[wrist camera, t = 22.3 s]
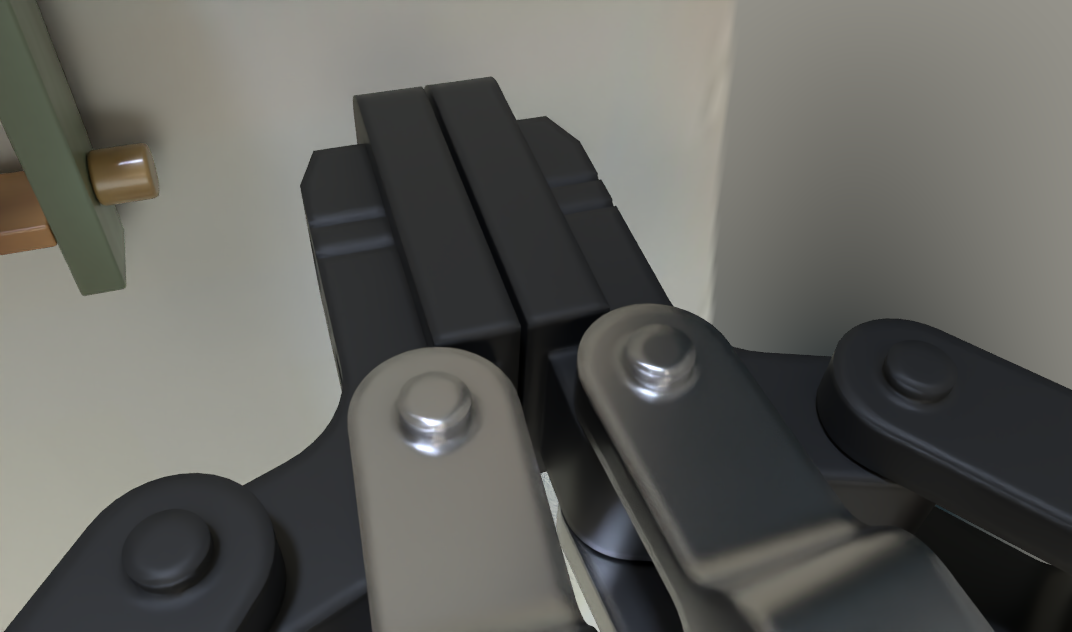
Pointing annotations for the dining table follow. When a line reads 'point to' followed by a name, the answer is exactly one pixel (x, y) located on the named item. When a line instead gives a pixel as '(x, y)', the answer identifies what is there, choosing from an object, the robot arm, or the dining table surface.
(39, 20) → the drawer
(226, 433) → the dining table surface
